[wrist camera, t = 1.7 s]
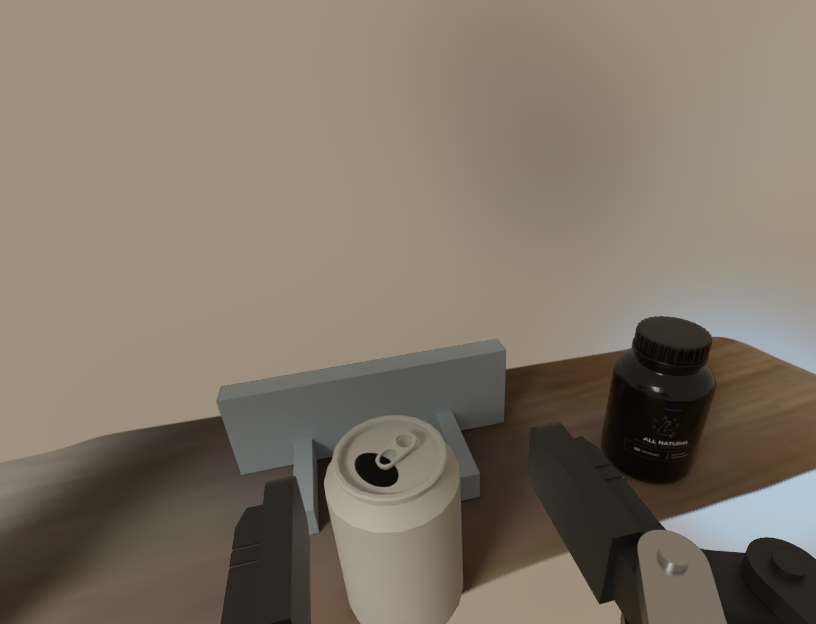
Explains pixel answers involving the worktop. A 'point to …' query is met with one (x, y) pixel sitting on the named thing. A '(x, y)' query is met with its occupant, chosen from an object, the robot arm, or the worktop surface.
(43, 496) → the worktop surface
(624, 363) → the supplement bottle
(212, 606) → the worktop surface
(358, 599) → the can
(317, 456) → the stop bay
